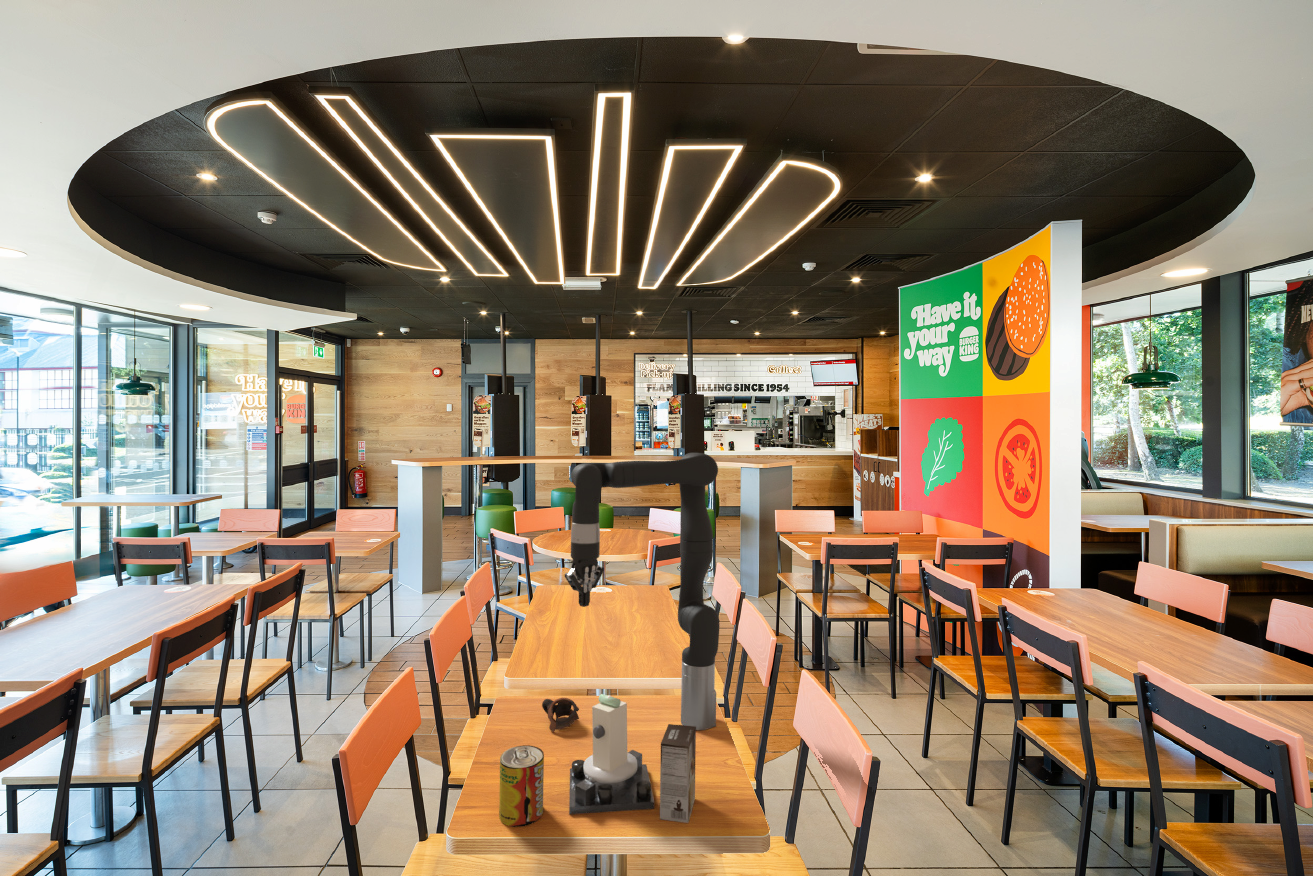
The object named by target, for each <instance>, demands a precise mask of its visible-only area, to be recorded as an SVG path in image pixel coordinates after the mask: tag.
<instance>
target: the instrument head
mask: <svg viewBox="0 0 1313 876" xmlns="http://www.w3.org/2000/svg"><path fill="white" fill-rule="evenodd" d="M598 702H599V703H597V704H595V705H592V706H591V709H592V711H591V712H592V714H591V715H592V716H591V717H592V719H591V720H592V754H591V755H590V756H588V757H587V758H586V759H585V760H584V761H585V762H584V765H583V768H584V774H585V776H586V777H587V778H588V779H589V781H590V782H592V783H595V782H599V783H617V782H621V781H624V780H627V779H629V778H630V777H632V776H633V775H634V774H635V773H636V771H637V759H636V758H635V757H634V756H633V755H632V754H630V753H628V752H629V751H628V703H627V702H626V701H622V700H621V699H619V698H618V697H617V698H616V697H614V696H612V695H607V694H604V693H601V694H599V696H598Z"/></svg>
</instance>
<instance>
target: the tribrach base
mask: <svg viewBox="0 0 1313 876" xmlns="http://www.w3.org/2000/svg"><path fill="white" fill-rule="evenodd" d="M627 752H628V753H630V754H632V755H633V756H634V757H635V758H636V759H637V771H636V773H635V774H634V775H633V776H632V777H630V778H629V779H627V780H624V781H621V782H617V783H599V782H595V783H592V782H590V781H589V779H588V778H587V777H586V776H585V774H584V768H583V765H584V762H585V760H583V759H576V760H573V761H572V762H571V768H569V798H568V799H569V800H568V801H569V802H568V803H569V807H568V808H569V809H568V813H569V814H568V815H579V814H580V815H581V814H582V815H583V814H594V813H595V814H598V813H611V812H624V811H625V812H627V811H642V810H643V811H644V810H655V799H654V794H653V789H652V782H651V780H650V776H649V771H648V767H647V764H645V763H644V764H643V753H642V752H639V751H636V750H634V749H631V750H629V751H627Z"/></svg>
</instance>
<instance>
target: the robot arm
mask: <svg viewBox="0 0 1313 876" xmlns="http://www.w3.org/2000/svg"><path fill="white" fill-rule="evenodd" d="M718 472H719V467H718V464H717V462H716V460H715V459H714V458H713V457H712V456H710V455H708V454H707V453H703V452H702V453H701V452H688V453H686V454H684V455H683V456H682V457H681V459H674V460H673V459H672V460H626V461H625V460H624V461H615V462H585V463H584V462H583V463H579V464H578V465H576V466H574V468H573V469H572V471H571V473H570V479H571V482H572V484H573V485H574V487H575V493H574V495H575V496H574V498H575V499H574V502H573V504H572V512H571V513H572V515H571V516H572V519H571V520H572V522H571V529H570V530H571V531H570V557H571V560H572V563H571V566H570V568H571V569H570V570H569V572H565V573H564V578H565V580H566V581H567V583H568V584H569V586H570V587H571V589H572V590H573V591H577V592H578V604H579V606H580V607H584V608H586V607H588V606H590V603H591V592H592V589H593V588H594V589H596V588H597V585H598V583H599V581H600V580H601V578H602V575H603V573H604V571H605V568H604V567H603V566H600V565H599V561H598V558H599V557H600V551H601V550H600V543H601V541H600V539H601V533H600V532H601V530H600V502H601V501H600V499H601V497H602V494H601V493H602V488H612V489H613V488H614V489H621V488H622V489H624V488H634V487H635V488H636V487H638V488H639V487H646V486H647V487H649V486H657V485H671V484H672V485H673V484H674V485H675V484H676V485H678V486H679V495H680V523H679V524H680V533H679V534H680V535H679V536H680V537H679V545H680V546H679V550H680V551H679V552H680V567H679V568H680V570H679V571H680V577H679V578H680V584H679V585H680V587H679V596H678V597H679V598H678V606H677V623H678V625H679V627H680V629H682V630H683V631H684V633H686V634H688V635H689V646H687V647H685V648H684V649H683V650H682V652H681V686H680V687H681V692H680V693H681V695H680V696H681V697H680V701H681V703H680V725H685V726H695V727H696V731H705V730H708V729H711V728H716V726H717V691H716V689H715V685H716V684H715V681H716V680H715V679H716V676H715V674H716V671H715V669H716V668H715V667H716V664H715V663H716V656H717V654H718V650H719V643H720V642H719V641H720V640H719V639H720V617H719V614H718V612H717V610H716V609H714V608H713V607H711V606H709V605H708V604H705V602H704V583H705V577H706V575H707V573H708V570H709V569H710V566H711V564H712V561H713V556H714V534H713V533H714V532H713V527H712V523H711V520H710V515H709V513H708V510H707V505H706V504H707V503H706V486H709V485H710V484H712V483H713V482H714V481H715V480H716V478H717V476H718Z"/></svg>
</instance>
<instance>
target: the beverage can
mask: <svg viewBox="0 0 1313 876" xmlns="http://www.w3.org/2000/svg"><path fill="white" fill-rule="evenodd" d="M544 766H545V754H544V751H543V750H542V749H541V748H539V747H538V746H534V745H530V744H528V745H524V744H523V745H516V746H513V747H511V748H508V749H506V750H505V751H503V753H501V754H500V757H499V801H498V802H499V805H498V812H499V813H498V818H499V821H500V822H501V823H502V824H503V825H505V826H508V827H512V828H521V827H522V828H523V827H528V826H530V825H532V824H535V823H536V822H538V821H539V820H540V819H541V818H542V816H543V813H544V778H545V777H544V776H545V775H544V774H545V773H544V772H545V771H544V770H545V769H544Z"/></svg>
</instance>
